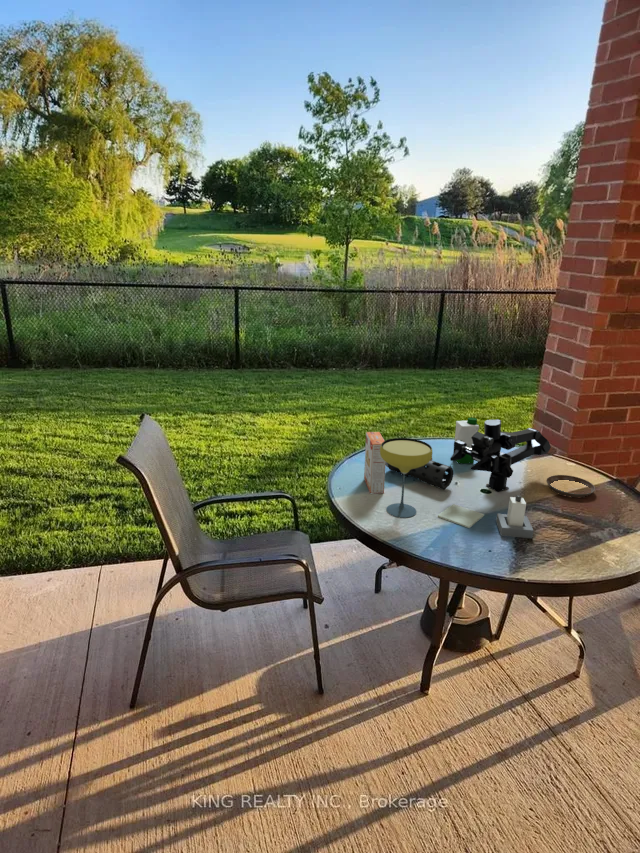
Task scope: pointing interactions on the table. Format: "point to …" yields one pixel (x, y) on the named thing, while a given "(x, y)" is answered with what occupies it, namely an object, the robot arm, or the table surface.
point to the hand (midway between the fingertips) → (460, 463)
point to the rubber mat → (461, 515)
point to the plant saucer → (570, 478)
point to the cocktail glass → (405, 465)
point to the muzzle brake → (430, 474)
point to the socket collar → (514, 527)
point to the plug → (516, 511)
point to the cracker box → (374, 463)
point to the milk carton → (466, 436)
